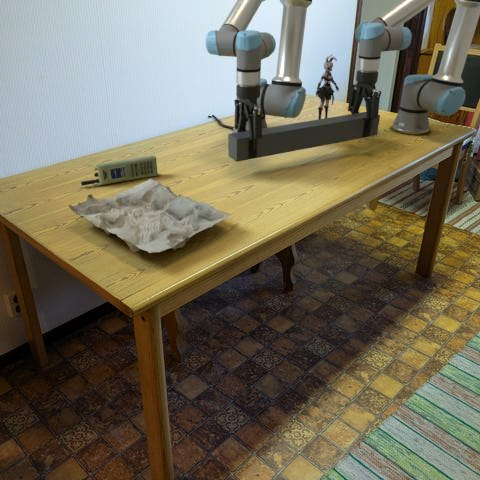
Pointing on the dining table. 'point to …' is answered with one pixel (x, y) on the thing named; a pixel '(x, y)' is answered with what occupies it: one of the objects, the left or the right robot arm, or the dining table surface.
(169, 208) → the grey pulp egg tray
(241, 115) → the left robot arm
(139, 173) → the handheld radio
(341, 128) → the beam
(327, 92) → the figurine
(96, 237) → the dining table surface
